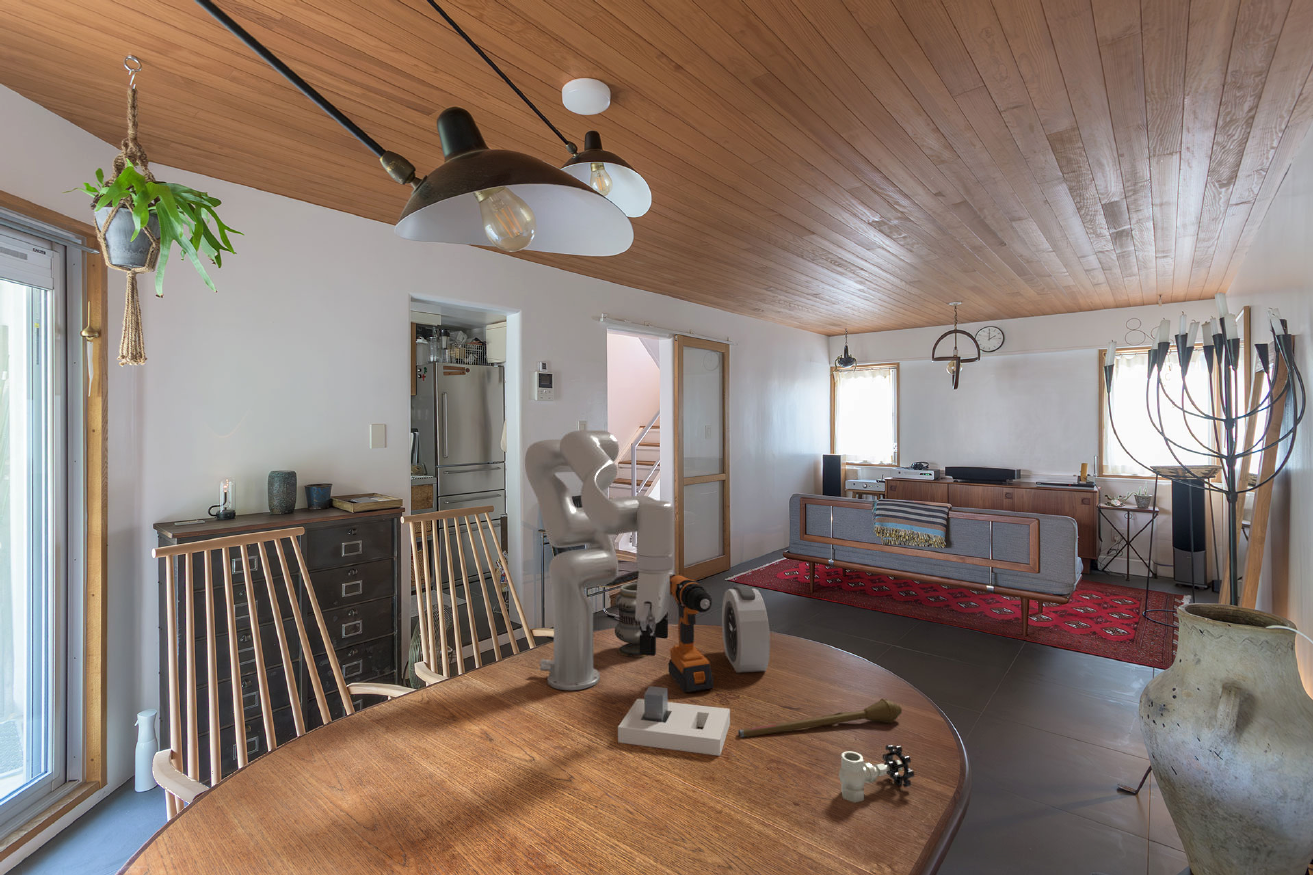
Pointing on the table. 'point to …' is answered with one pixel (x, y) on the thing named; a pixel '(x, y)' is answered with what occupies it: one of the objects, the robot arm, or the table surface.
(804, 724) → the olive long knobbed bar
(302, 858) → the table surface
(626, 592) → the apothecary jar
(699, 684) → the power drill
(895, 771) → the valve
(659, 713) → the square peg
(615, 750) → the table surface
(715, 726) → the hole board
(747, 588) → the alarm clock
